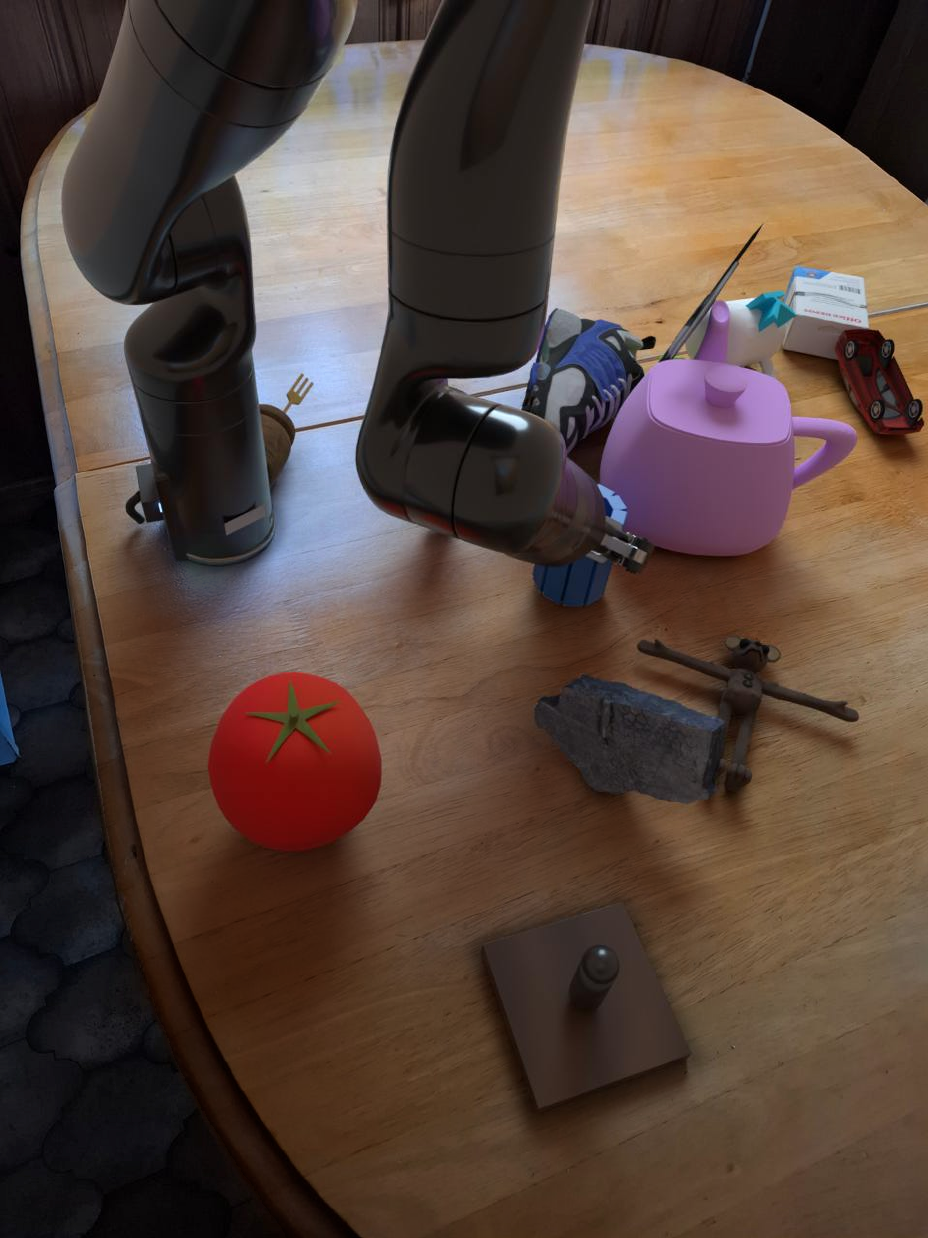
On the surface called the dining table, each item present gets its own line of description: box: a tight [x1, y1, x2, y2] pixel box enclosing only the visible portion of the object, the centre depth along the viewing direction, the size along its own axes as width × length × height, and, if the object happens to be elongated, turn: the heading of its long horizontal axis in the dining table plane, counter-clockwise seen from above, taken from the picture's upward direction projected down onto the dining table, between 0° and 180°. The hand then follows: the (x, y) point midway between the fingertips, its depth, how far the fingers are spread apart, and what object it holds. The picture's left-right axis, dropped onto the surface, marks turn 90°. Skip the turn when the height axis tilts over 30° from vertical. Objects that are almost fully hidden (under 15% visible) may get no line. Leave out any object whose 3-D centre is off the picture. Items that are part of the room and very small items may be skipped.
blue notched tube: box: [532, 483, 627, 608], centre depth 76 cm, size 6×7×8 cm
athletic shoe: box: [520, 308, 657, 456], centre depth 92 cm, size 10×26×12 cm
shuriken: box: [657, 222, 765, 363], centre depth 89 cm, size 24×1×21 cm, turn 154°
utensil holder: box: [259, 373, 314, 488], centre depth 87 cm, size 6×6×12 cm
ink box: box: [782, 265, 871, 361], centre depth 109 cm, size 8×5×12 cm
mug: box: [684, 290, 796, 380], centre depth 99 cm, size 12×9×12 cm
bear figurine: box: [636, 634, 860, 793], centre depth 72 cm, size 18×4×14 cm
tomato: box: [207, 671, 383, 852], centre depth 60 cm, size 11×11×13 cm
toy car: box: [834, 328, 925, 436], centre depth 100 cm, size 6×15×5 cm, turn 10°
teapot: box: [599, 299, 858, 557], centre depth 84 cm, size 23×21×15 cm
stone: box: [533, 672, 727, 805], centre depth 65 cm, size 14×6×10 cm, turn 69°
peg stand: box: [480, 901, 692, 1115], centre depth 54 cm, size 10×10×8 cm
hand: (586, 532), depth 77 cm, fingers closed on blue notched tube, 6 cm apart
